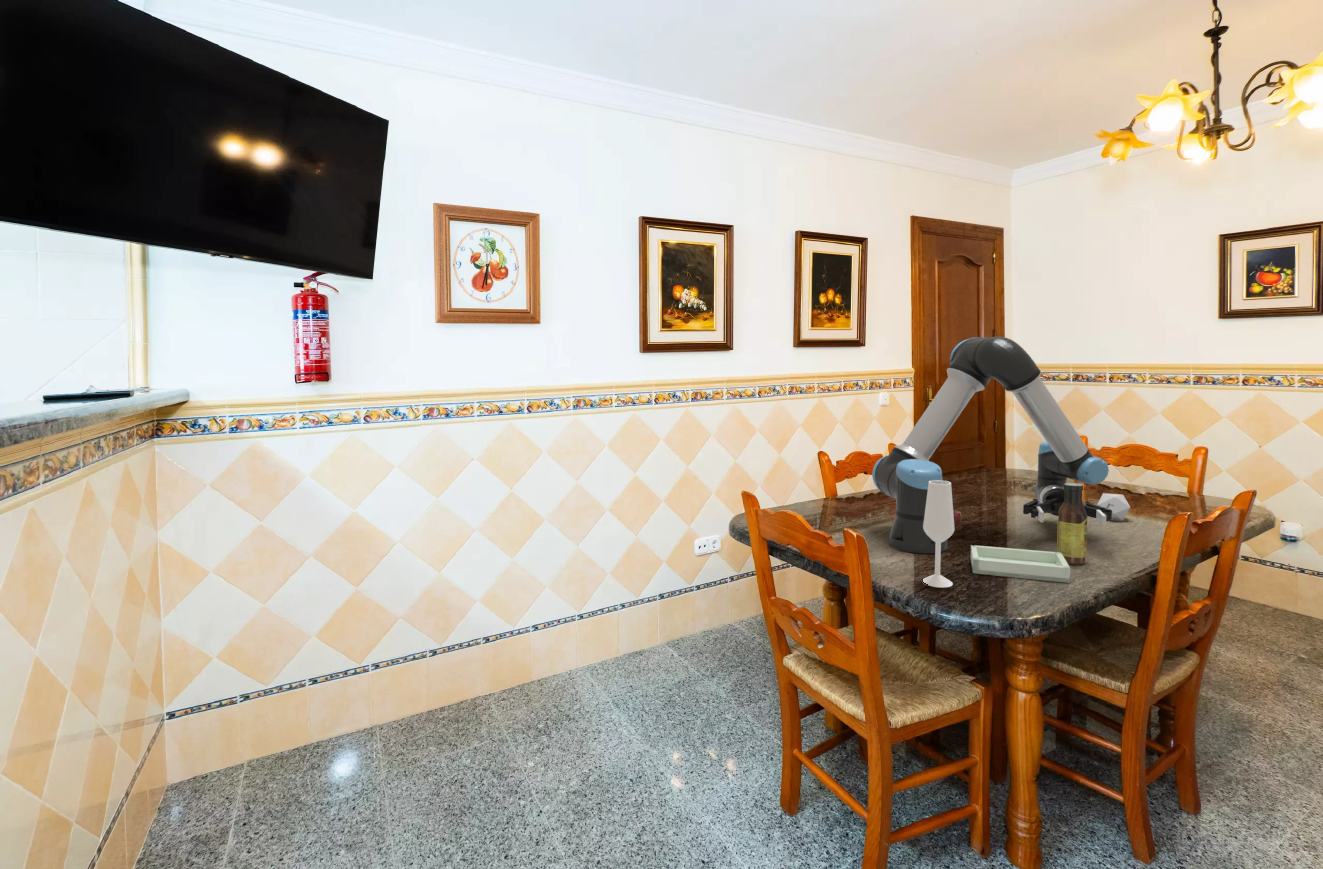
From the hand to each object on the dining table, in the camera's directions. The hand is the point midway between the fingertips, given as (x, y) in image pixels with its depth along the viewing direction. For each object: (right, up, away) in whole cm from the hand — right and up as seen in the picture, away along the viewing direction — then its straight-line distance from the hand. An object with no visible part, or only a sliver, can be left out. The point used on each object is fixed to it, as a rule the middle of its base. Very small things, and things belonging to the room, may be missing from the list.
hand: (1072, 519), depth 160 cm
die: (+35, -5, +34) cm, 49 cm away
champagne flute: (-41, -13, -13) cm, 45 cm away
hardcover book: (-24, -7, +31) cm, 40 cm away
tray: (-18, -11, -7) cm, 23 cm away
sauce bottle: (-2, -11, -2) cm, 11 cm away
